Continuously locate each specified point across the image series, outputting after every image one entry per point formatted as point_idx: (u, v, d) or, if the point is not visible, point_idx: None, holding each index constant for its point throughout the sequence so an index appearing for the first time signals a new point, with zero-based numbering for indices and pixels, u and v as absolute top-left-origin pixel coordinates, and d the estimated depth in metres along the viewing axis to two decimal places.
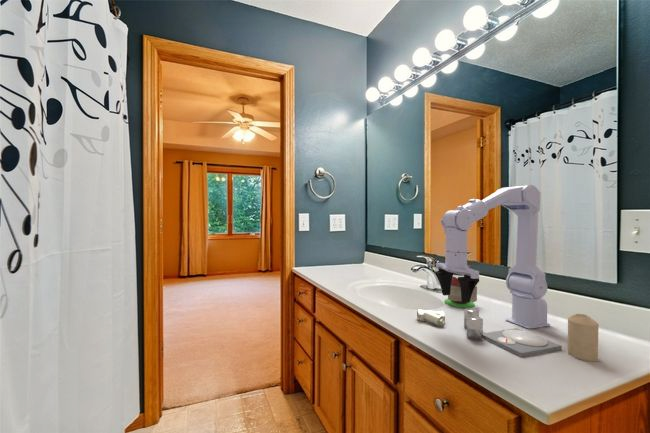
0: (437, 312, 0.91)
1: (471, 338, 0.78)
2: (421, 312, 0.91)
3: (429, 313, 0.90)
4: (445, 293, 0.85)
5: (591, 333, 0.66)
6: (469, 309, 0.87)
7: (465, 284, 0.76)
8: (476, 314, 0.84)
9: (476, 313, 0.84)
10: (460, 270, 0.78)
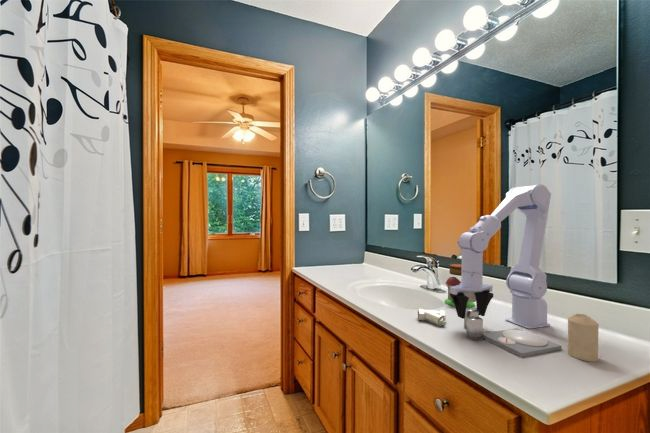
0: (438, 312, 0.91)
1: (471, 338, 0.78)
2: (422, 311, 0.92)
3: (430, 313, 0.90)
4: None
5: (592, 333, 0.66)
6: (469, 309, 0.87)
7: (452, 297, 0.86)
8: (476, 314, 0.84)
9: (476, 313, 0.84)
10: None
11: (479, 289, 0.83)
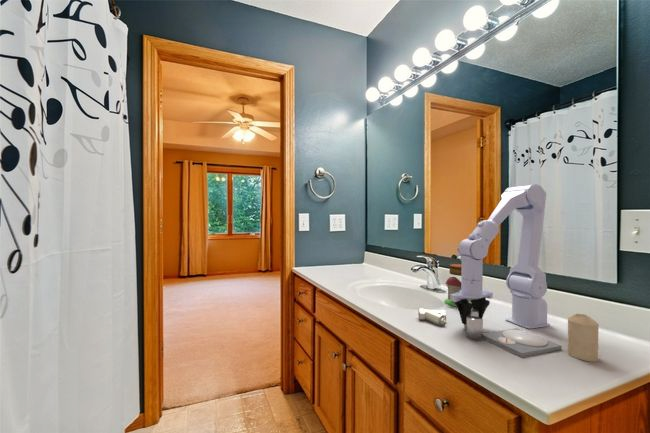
0: (438, 311, 0.92)
1: (471, 338, 0.78)
2: (422, 311, 0.92)
3: (430, 312, 0.91)
4: None
5: (592, 333, 0.66)
6: None
7: (456, 304, 0.87)
8: (476, 314, 0.84)
9: (476, 313, 0.84)
10: None
11: (479, 296, 0.83)
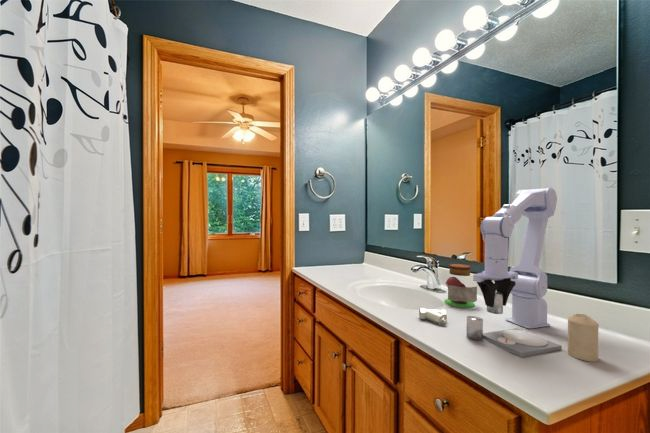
0: (439, 311, 0.92)
1: (471, 338, 0.78)
2: (423, 311, 0.92)
3: (431, 312, 0.91)
4: None
5: (592, 333, 0.66)
6: None
7: (479, 285, 0.82)
8: (500, 296, 0.80)
9: (500, 295, 0.80)
10: None
11: (504, 276, 0.79)
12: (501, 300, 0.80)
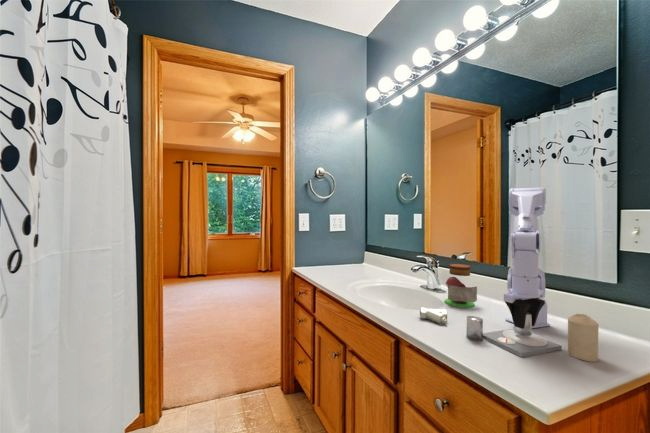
0: (439, 310, 0.92)
1: (471, 338, 0.78)
2: (424, 310, 0.93)
3: (431, 311, 0.92)
4: None
5: (592, 333, 0.66)
6: None
7: (507, 305, 0.77)
8: (530, 317, 0.75)
9: (530, 316, 0.75)
10: None
11: (536, 296, 0.74)
12: (531, 320, 0.76)
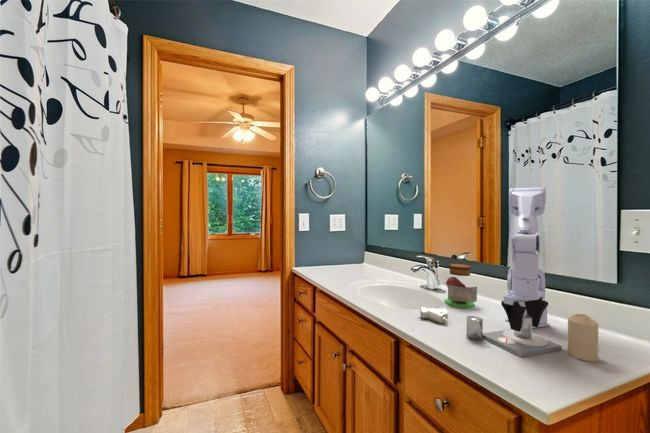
0: (440, 310, 0.93)
1: (471, 338, 0.78)
2: (424, 310, 0.93)
3: (432, 311, 0.92)
4: None
5: (591, 333, 0.66)
6: None
7: (504, 308, 0.76)
8: (531, 321, 0.75)
9: (531, 319, 0.75)
10: None
11: (536, 298, 0.74)
12: (531, 324, 0.76)
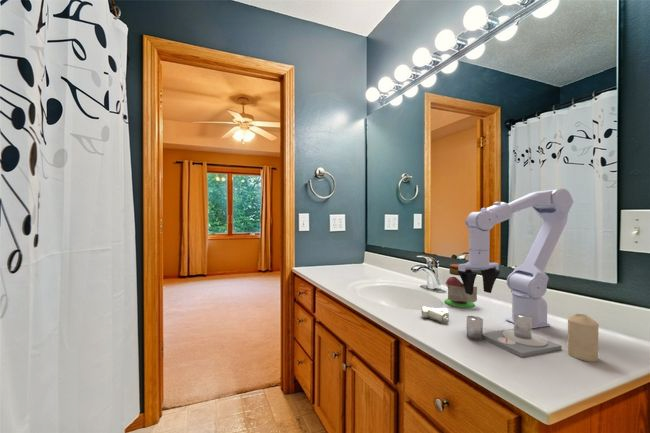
0: (441, 309, 0.93)
1: (471, 338, 0.78)
2: (425, 309, 0.94)
3: (433, 310, 0.93)
4: (485, 290, 0.91)
5: (592, 333, 0.66)
6: (520, 315, 0.78)
7: None
8: (530, 320, 0.75)
9: (530, 319, 0.75)
10: None
11: (486, 266, 0.86)
12: (531, 324, 0.76)
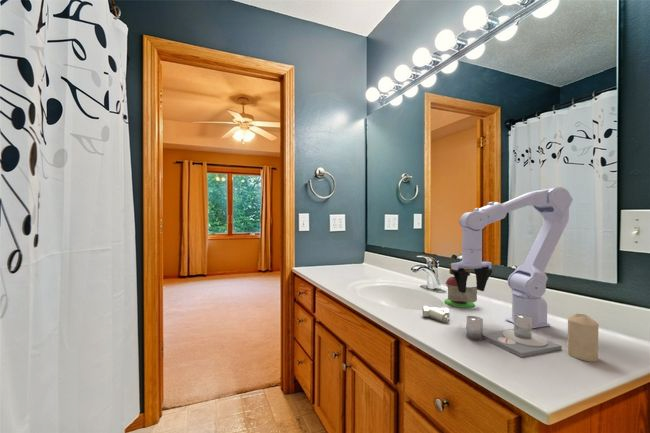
0: (442, 309, 0.94)
1: (471, 338, 0.78)
2: (426, 309, 0.95)
3: (434, 310, 0.93)
4: (478, 288, 0.93)
5: (591, 333, 0.66)
6: (520, 315, 0.78)
7: (453, 274, 0.91)
8: (531, 321, 0.75)
9: (531, 319, 0.75)
10: None
11: (479, 265, 0.88)
12: (531, 324, 0.76)
